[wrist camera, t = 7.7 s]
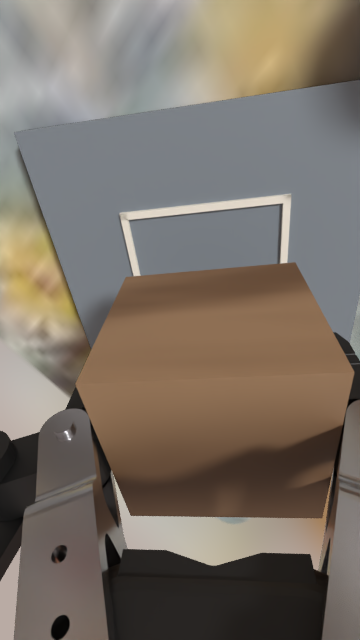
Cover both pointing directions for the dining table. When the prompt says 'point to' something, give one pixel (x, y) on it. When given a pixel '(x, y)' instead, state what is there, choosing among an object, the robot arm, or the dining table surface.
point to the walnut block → (218, 394)
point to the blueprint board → (206, 194)
